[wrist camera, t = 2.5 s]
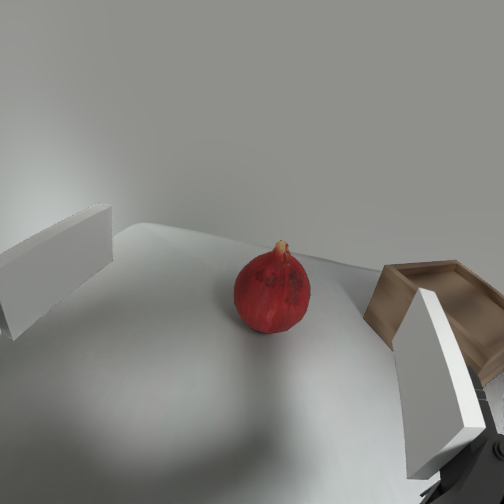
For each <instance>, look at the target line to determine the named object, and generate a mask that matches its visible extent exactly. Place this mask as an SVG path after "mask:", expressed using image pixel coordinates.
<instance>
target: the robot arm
mask: <svg viewBox="0 0 504 504" xmlns="http://www.w3.org/2000/svg"><path fill="white" fill-rule="evenodd" d="M112 261H113V254H112V206H110V205H106V204H102V203H97V204H95V205H93V206H91V207H89V208H87V209H85V210H83V211H80V212H78V213H76V214H74V215H72V216H70V217H68V218H66V219H64V220H62V221H60V222H58V223H57V224H54V225H52V226H51V227H49V228H47V229H45V230H43V231H41V232H39V233H37V234H35V235H33V236H32V237H30V238H28V239H26V240H24V241H23V242H21V243H19V244H17V245H15V246H14V247H12V248H10V249H8V250H7V251H5V252H3V253H2V254H0V329H1V331H2V333H3V334H5V335H6V336H7V337H9V338H10V339H11V340H13V341H14V340H15V339H16V338H18V337H19V336H20V335H21V334H22V333H23V332H25V331H26V330H27V329H28V328H29V327H30V326H31V325H33V324H34V323H35V322H36V321H37V320H39V319H40V318H41V317H42V316H43V315H45V314H46V313H47V312H48V311H49V310H51V309H52V308H53V307H54V306H55V305H57V304H58V303H59V302H60V301H62V300H63V299H64V298H65V297H67V296H68V295H69V294H70V293H72V292H73V291H74V290H75V289H77V288H78V287H79V286H80V285H82V284H83V283H84V282H86V281H87V280H88V279H89V278H91V277H92V276H93V275H95V274H96V273H97V272H99V271H100V270H101V269H103V268H104V267H105V266H106V265H108V264H109V263H110V262H112ZM392 345H393V350H394V356H395V363H396V369H397V376H398V383H399V390H400V398H401V407H402V416H403V426H404V438H405V451H406V469H407V479H418V480H428V479H429V478H430V477H432V476H433V475H434V474H435V473H437V472H438V471H439V470H440V478H441V480H439V481H438V482H437V483H435V484H434V485H433V486H431V487H430V488H428V489H427V490H426V491H424V492H423V493H422V494H421V495H420V496H421V497H423V496H424V495H426V494H427V493H428V494H427V495H426V496H425V498H424V499H423V500H422V502H421V503H420V504H504V435H503V434H497V430H496V427H495V423H494V420H493V417H492V414H491V410H490V407H489V404H488V401H486V399H487V398H486V395H485V393H484V391H483V387H482V384H481V381H480V379H479V377H478V375H477V374H476V373H475V371H474V370H473V369H472V367H471V366H466V364H465V362H464V359H463V357H462V354H461V351H460V349H459V346H458V344H457V341H456V339H455V336H454V334H453V332H452V329H451V327H450V325H449V322H448V320H447V318H446V316H445V313H444V311H443V309H442V307H441V304H440V302H439V300H438V298H437V296H436V294H435V292H433V291H430V290H426V289H422V288H418V290H417V292H416V294H415V296H414V299H413V301H412V303H411V305H410V307H409V309H408V311H407V313H406V315H405V317H404V319H403V321H402V323H401V325H400V327H399V329H398V331H397V333H396V334H395V336H394V338H393V340H392Z"/></svg>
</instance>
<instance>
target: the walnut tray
mask: <svg viewBox="0 0 504 504" xmlns="http://www.w3.org/2000/svg"><path fill="white" fill-rule="evenodd" d="M418 288H422V289H426V290H430V291H433V292H435V294H436V296H437V298H438V300H439V302H440V304H441V307H442V309H443V311H444V313H445V316H446V318H447V320H448V322H449V325H450V327H451V329H452V332H453V334H454V336H455V339H456V341H457V344H458V346H459V349H460V351H461V354H462V357H463V359H464V362H465V364H466V366H471V367H472V369H473V370H474V371H475V373H476V374H477V375H478V377H479V379H480V381H481V384H482V387H484V386H485V385H486V384H487V383H489V382H490V381H491V380H492V379H494V378H495V377H496V376H497V375H498V374H500V373H501V372H502V371H503V370H504V296H503V295H502V294H501V293H499V292H498V291H497V290H496V289H494V288H493V287H492V286H491V285H489V284H488V283H487V282H485V281H484V280H483V279H481V278H480V277H479V276H477V275H476V274H475V273H473V272H472V271H471V270H469V269H468V268H467V267H465V266H464V265H462V264H461V263H460V262H458V261H457V260H447V261H434V262H421V263H407V264H395V265H394V264H393V265H384V268H383V271H382V273H381V276H380V278H379V281H378V283H377V286H376V288H375V291H374V293H373V296H372V298H371V301H370V303H369V306H368V308H367V310H366V313H365V315H364V317H363V319H364V320H365V321H366V322H367V323H368V324H369V325H370V326H371V327H372V328H373V329H374V331H375V332H376V333H377V334H378V335H379V336H380V337H381V338H382V339H383V340H384V342H385V343H386V344H387V345H388V346H389V347H390V348H391V349H392V350H393V345H392V340H393V338H394V336H395V334H396V333H397V331H398V329H399V327H400V325H401V323H402V321H403V319H404V317H405V315H406V313H407V311H408V309H409V307H410V305H411V303H412V301H413V299H414V296H415V294H416V292H417V290H418ZM393 352H394V350H393Z"/></svg>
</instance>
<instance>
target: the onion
mask: <svg viewBox="0 0 504 504" xmlns="http://www.w3.org/2000/svg"><path fill="white" fill-rule="evenodd" d="M309 299H310V283H309V280H308V277H307V274H306V272H305V270H304V268H303V267H302V265H301V264H300V263H299V262H298V261H297V260H296V259H295V258H294V257H293V256H291V254H290V252H289V250H288V244H287V243H286V242H285V241H282V240H280V241H279V242H278V243H276V246H275V248H274V249H273V251H271V252H268V253H265V254H262V255H259V256H258V257H256V258H254V259H253V260H252V261H250V262H249V263H248V264H247V265H246V266H245V267H244V268H243V269H242V270H241V271H240V273H239V275H238V277H237V278H236V282H235V286H234V304H235V306H236V308H237V310H238V312H239V314H240V316H241V319H243V320H244V321H245V322H246V323H247V324H248V325H249V326H250V327H251V328H252V329H255V330H257V331H259V332H263V333H270V334H271V333H277V332H283V331H287V330H288V329H290V328H291V327H292V326H294V325H295V324H296V323H298V322H299V321H300V320H302V318H303V316H304V315H305V313H306V311H307V307H308V303H309Z"/></svg>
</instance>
